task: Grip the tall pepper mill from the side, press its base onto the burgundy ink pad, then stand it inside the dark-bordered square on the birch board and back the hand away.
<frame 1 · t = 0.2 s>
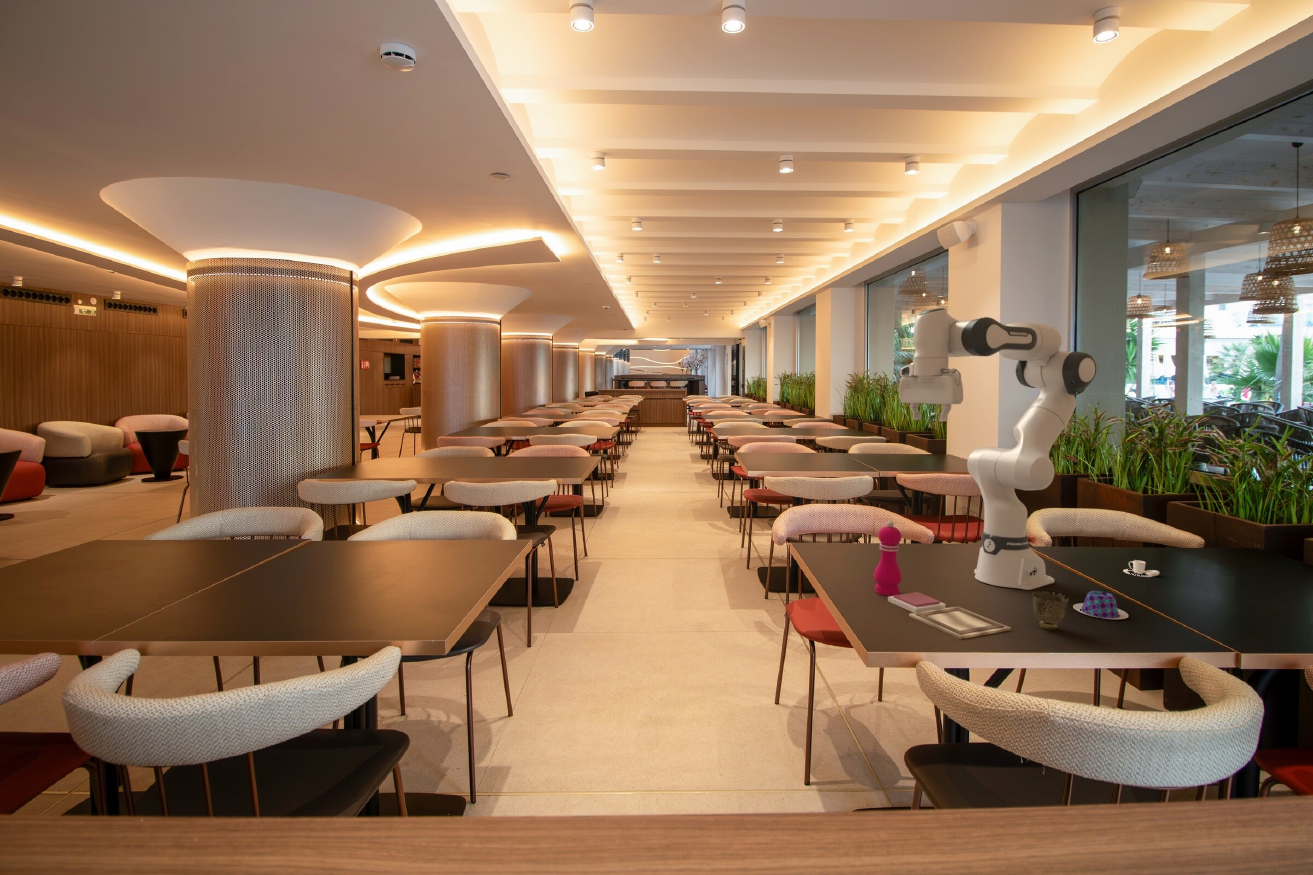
hand: (929, 420, 186), 48 cm above the table, tool pointing down, fingers open, 8 cm apart
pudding: (1099, 614, 176), on the table
ink pad: (916, 604, 180), on the table
cup: (1048, 628, 165), on the table
teacup and saucer: (1143, 578, 211), on the table
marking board: (958, 623, 167), on the table
pepper mill: (886, 593, 190), on the table
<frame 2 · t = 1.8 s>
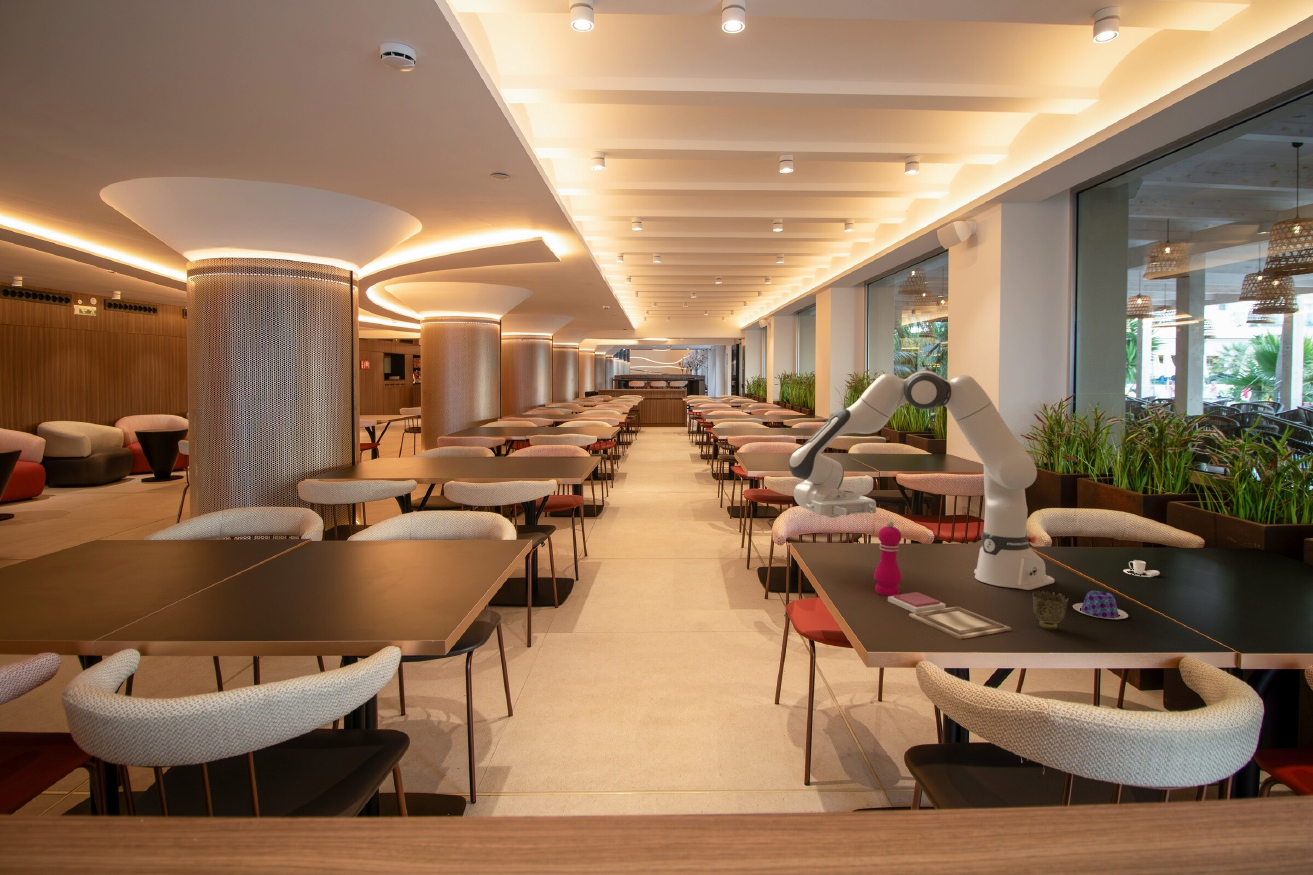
hand: (861, 511, 199), 20 cm above the table, tool horizontal, fingers open, 8 cm apart
nothing on the table moved.
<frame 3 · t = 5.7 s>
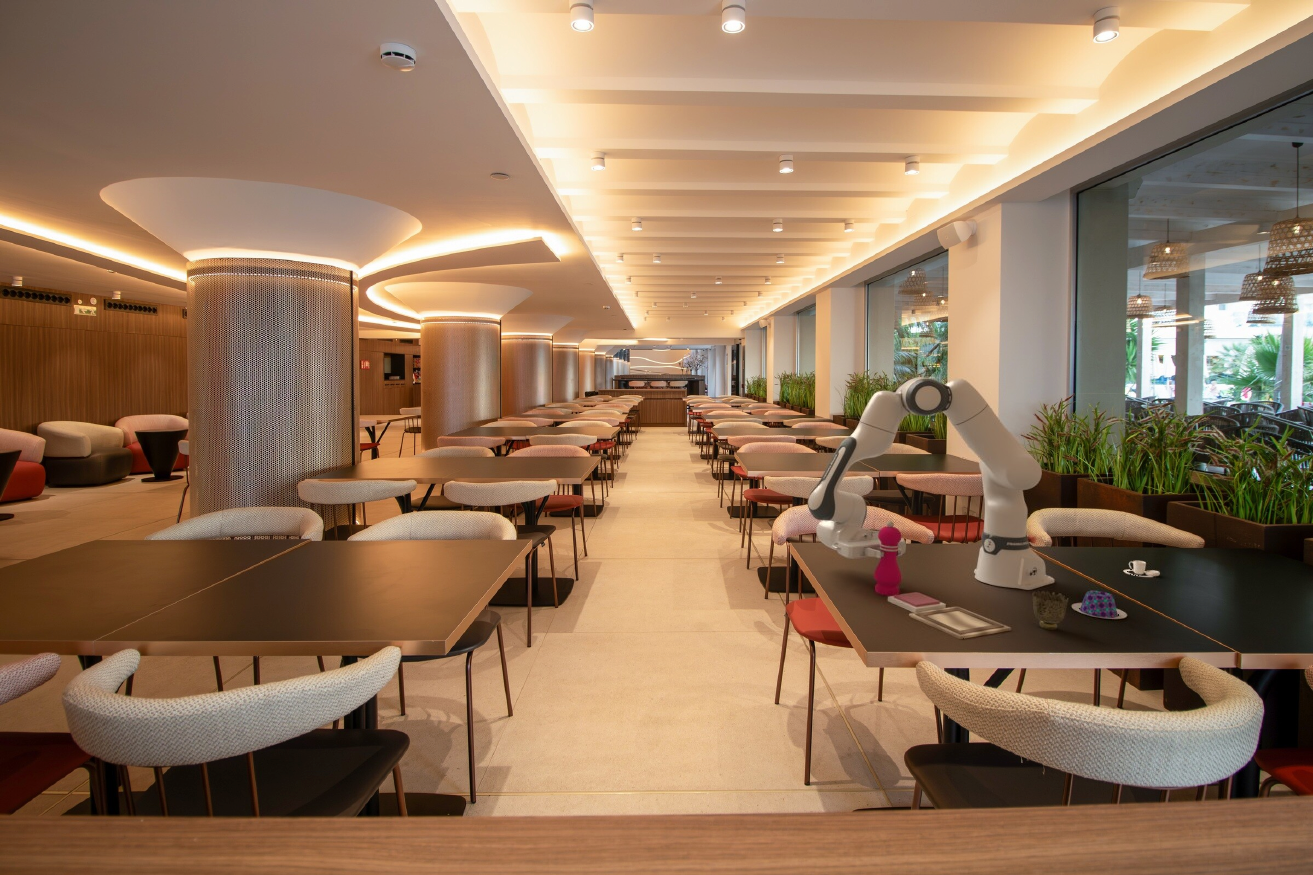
hand: (891, 554, 188), 11 cm above the table, tool horizontal, fingers closed on pepper mill, 5 cm apart
pepper mill: (886, 593, 190), on the table, touching gripper
everything else where it was.
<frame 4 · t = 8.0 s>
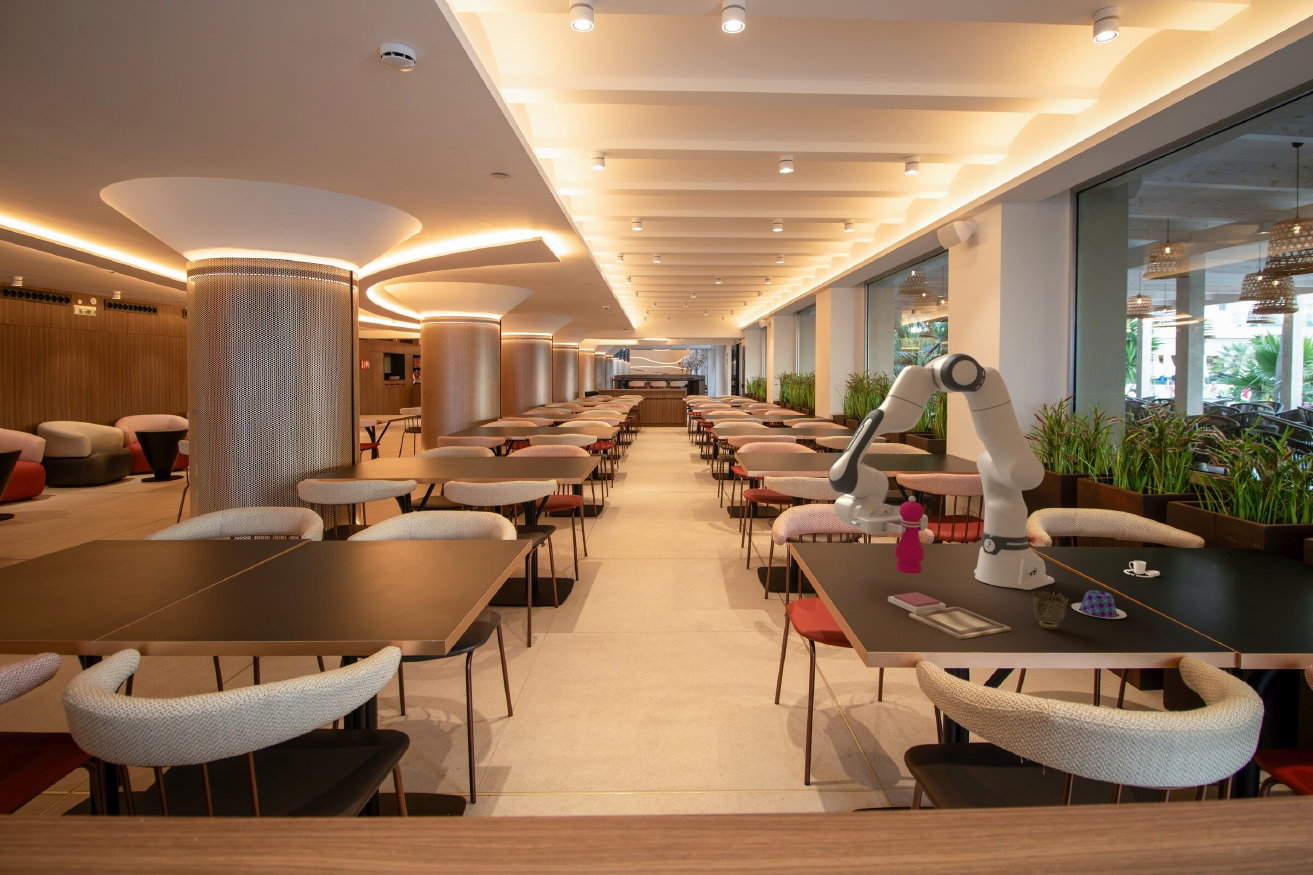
hand: (913, 529, 180), 20 cm above the table, tool horizontal, fingers closed on pepper mill, 5 cm apart
pepper mill: (908, 571, 182), point 8 cm above the table, touching gripper
everything else where it was.
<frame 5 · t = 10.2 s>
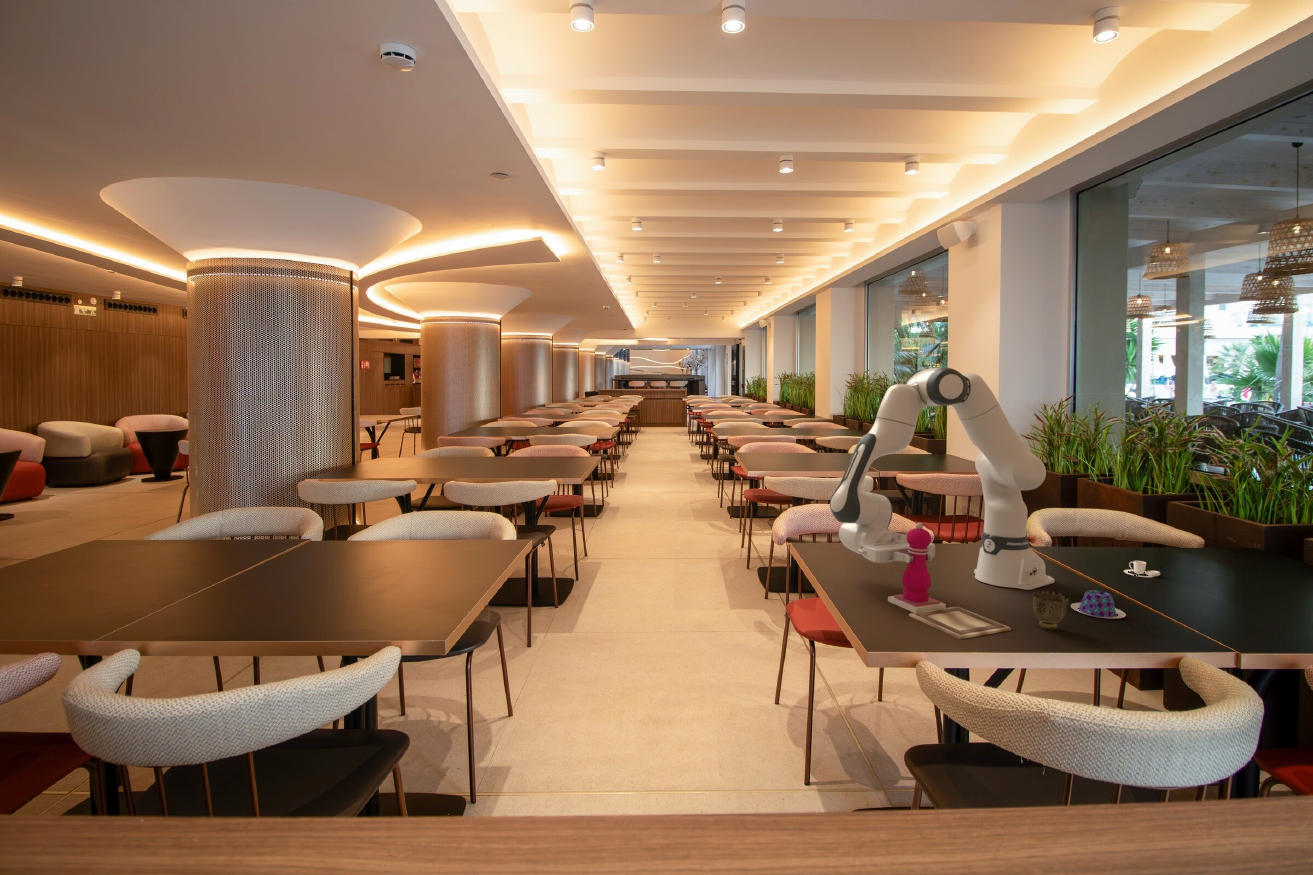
hand: (920, 558, 178), 13 cm above the table, tool horizontal, fingers closed on pepper mill, 5 cm apart
pepper mill: (915, 598, 179), point 2 cm above the table, touching gripper, ink pad
everything else where it was.
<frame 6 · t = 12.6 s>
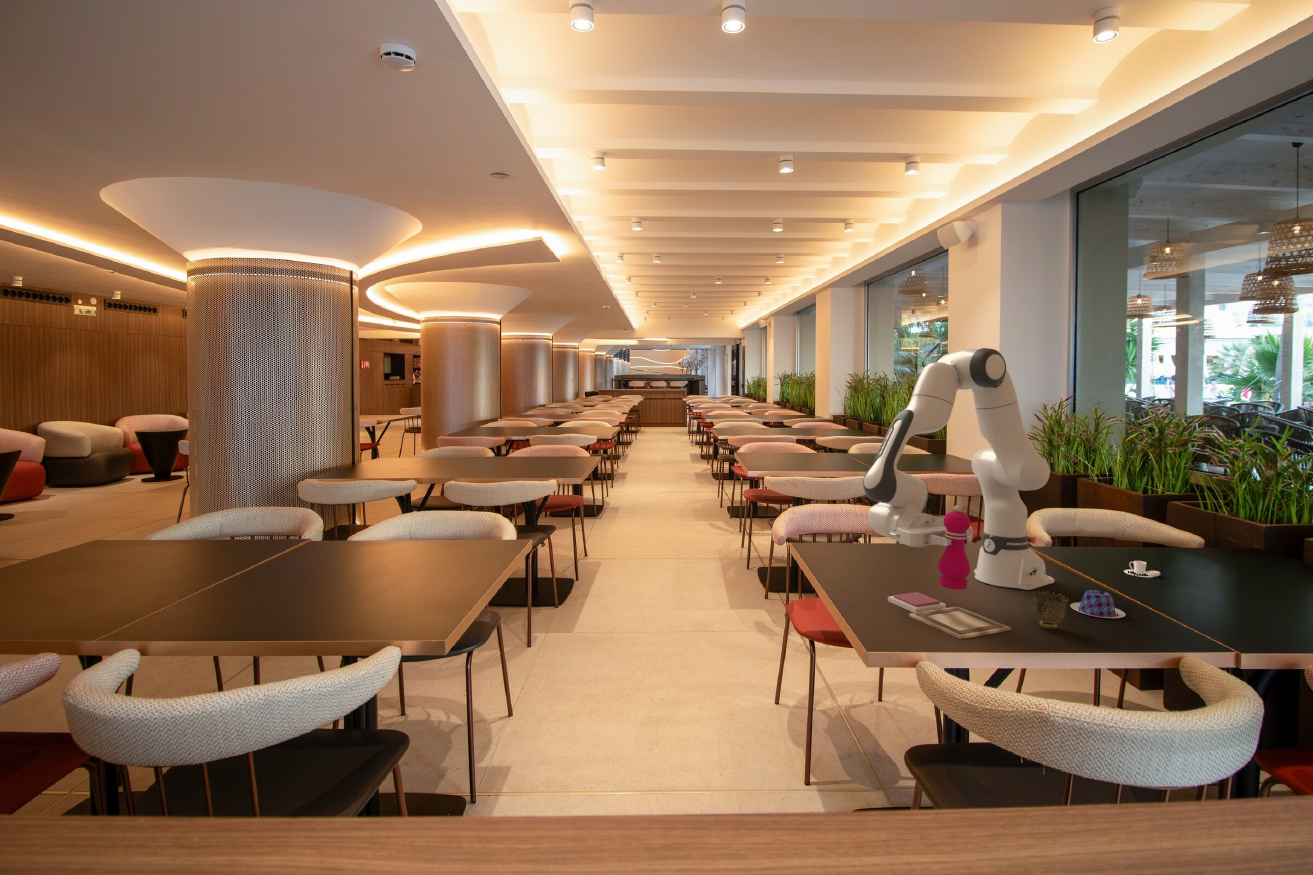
hand: (959, 541, 166), 20 cm above the table, tool horizontal, fingers closed on pepper mill, 5 cm apart
pepper mill: (952, 586, 168), point 8 cm above the table, touching gripper
everything else where it was.
when the fingers open (13 cm above the table, at t = 15.0 s): pepper mill stays where it is, resting on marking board.
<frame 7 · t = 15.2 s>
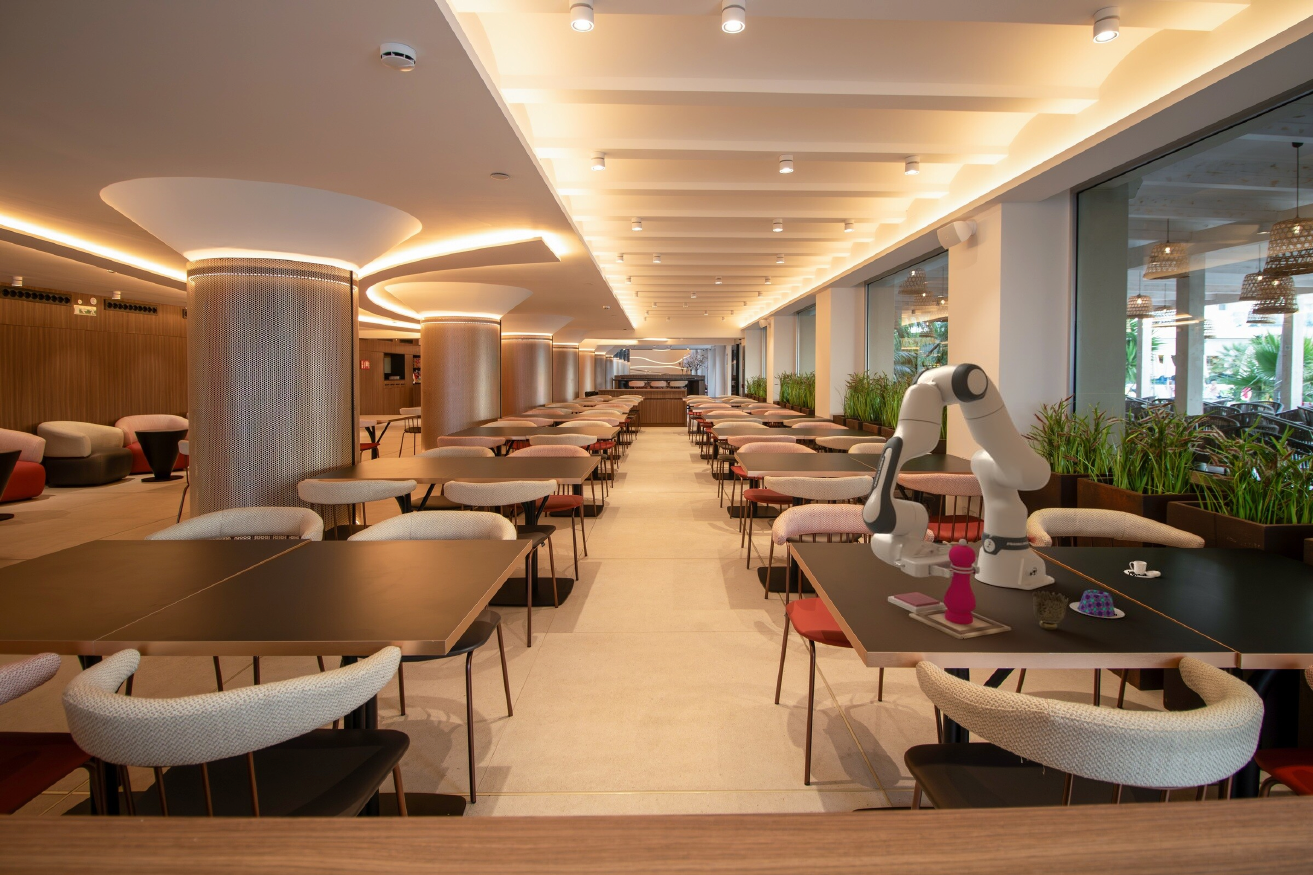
hand: (964, 572, 165), 13 cm above the table, tool horizontal, fingers open, 7 cm apart
pepper mill: (958, 620, 167), resting on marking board
everything else where it was.
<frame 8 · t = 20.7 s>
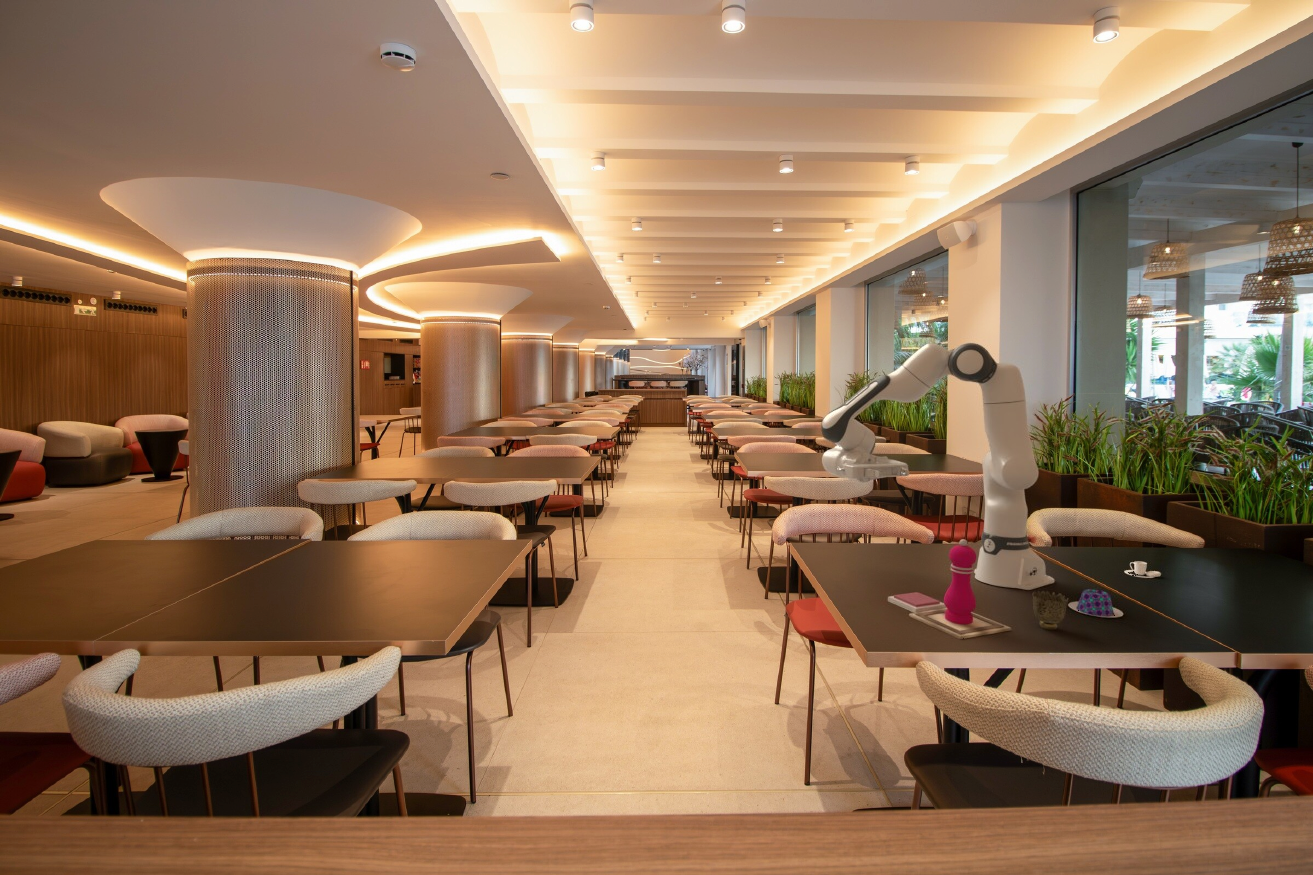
hand: (894, 473, 195), 32 cm above the table, tool horizontal, fingers open, 8 cm apart
at the end: pepper mill inside the target area on the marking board (0.4 cm from its centre), point 0.4 cm above the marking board's base; pepper mill tilted 0°; the gripper is holding nothing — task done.
